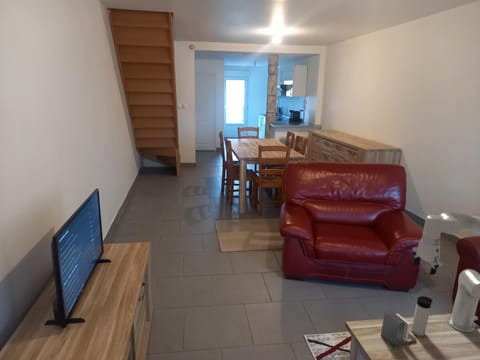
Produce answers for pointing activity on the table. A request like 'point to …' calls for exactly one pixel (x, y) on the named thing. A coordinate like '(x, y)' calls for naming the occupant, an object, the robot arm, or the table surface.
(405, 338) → the white flat slab
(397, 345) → the grey bracket
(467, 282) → the robot arm
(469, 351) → the table surface
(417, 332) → the travel mug
